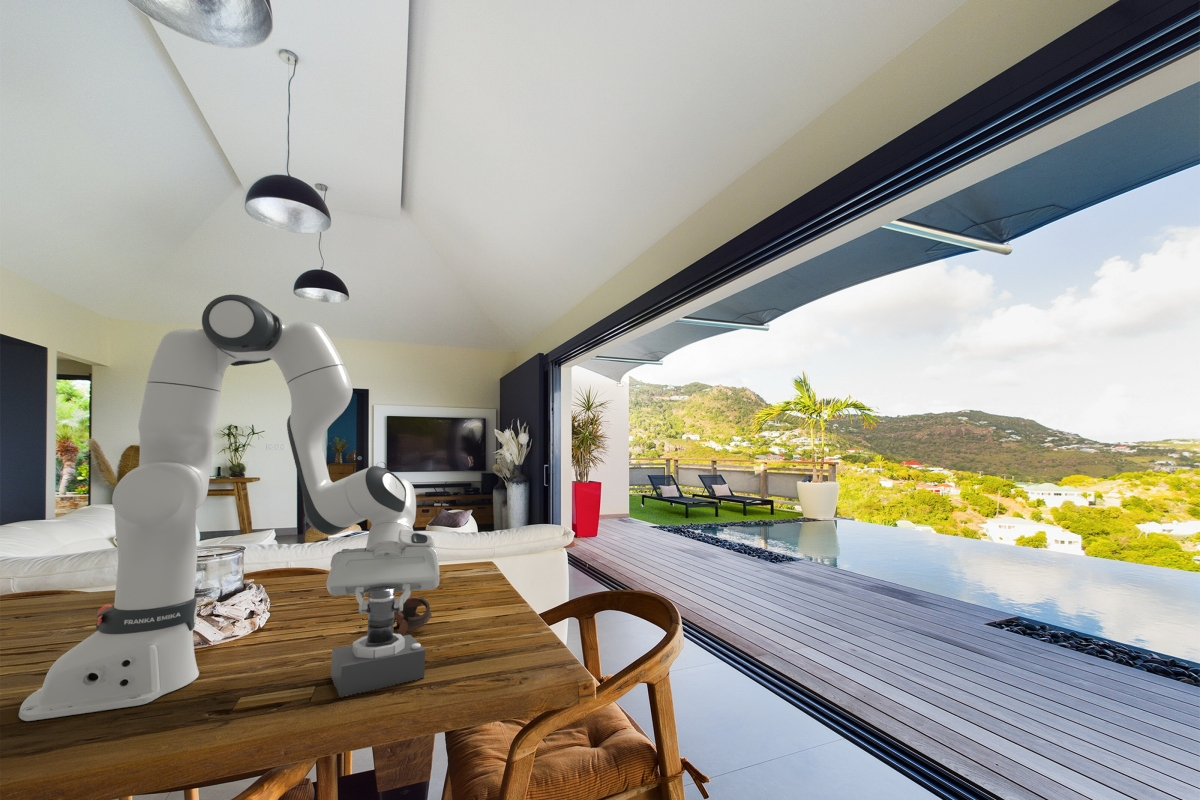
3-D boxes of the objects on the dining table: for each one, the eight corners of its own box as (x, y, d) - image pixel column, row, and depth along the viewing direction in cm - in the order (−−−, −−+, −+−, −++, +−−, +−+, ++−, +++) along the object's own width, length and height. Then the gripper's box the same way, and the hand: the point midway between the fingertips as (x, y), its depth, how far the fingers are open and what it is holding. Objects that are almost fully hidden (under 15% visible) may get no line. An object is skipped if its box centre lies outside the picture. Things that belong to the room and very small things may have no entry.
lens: (369, 645, 95) (371, 593, 96) (364, 638, 99) (366, 588, 100) (396, 640, 98) (398, 589, 99) (390, 633, 101) (391, 584, 102)
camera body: (340, 697, 89) (342, 657, 90) (330, 677, 98) (332, 640, 98) (424, 678, 97) (425, 641, 98) (409, 660, 105) (410, 626, 106)
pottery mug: (433, 623, 130) (439, 598, 127) (419, 654, 121) (424, 627, 118) (385, 611, 130) (390, 585, 127) (367, 641, 121) (371, 613, 118)
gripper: (331, 540, 104) (316, 605, 94) (441, 536, 109) (437, 597, 99) (335, 559, 108) (321, 624, 97) (441, 554, 113) (437, 615, 103)
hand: (380, 611), depth 98 cm, fingers closed on lens, 5 cm apart
